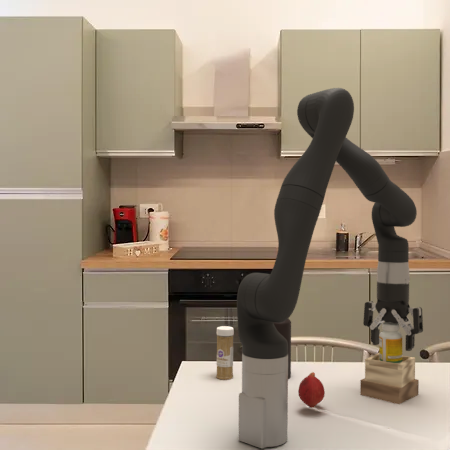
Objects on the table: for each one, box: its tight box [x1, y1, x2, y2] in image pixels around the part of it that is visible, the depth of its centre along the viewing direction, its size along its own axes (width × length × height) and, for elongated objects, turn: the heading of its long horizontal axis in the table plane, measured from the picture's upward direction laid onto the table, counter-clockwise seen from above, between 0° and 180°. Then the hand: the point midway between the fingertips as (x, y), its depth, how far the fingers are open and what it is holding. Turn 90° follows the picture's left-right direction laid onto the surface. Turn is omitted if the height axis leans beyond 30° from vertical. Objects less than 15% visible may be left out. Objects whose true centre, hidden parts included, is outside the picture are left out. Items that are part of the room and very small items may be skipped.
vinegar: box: [273, 317, 292, 380], centre depth 155 cm, size 7×7×20 cm
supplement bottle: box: [378, 321, 403, 364], centre depth 141 cm, size 5×5×10 cm
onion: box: [298, 371, 326, 409], centre depth 132 cm, size 6×6×8 cm
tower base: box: [359, 377, 420, 405], centre depth 141 cm, size 10×10×4 cm
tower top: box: [364, 352, 416, 388], centre depth 141 cm, size 9×9×5 cm
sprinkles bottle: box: [215, 325, 235, 381], centre depth 155 cm, size 5×5×13 cm
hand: (392, 347), depth 141 cm, fingers open, 8 cm apart
